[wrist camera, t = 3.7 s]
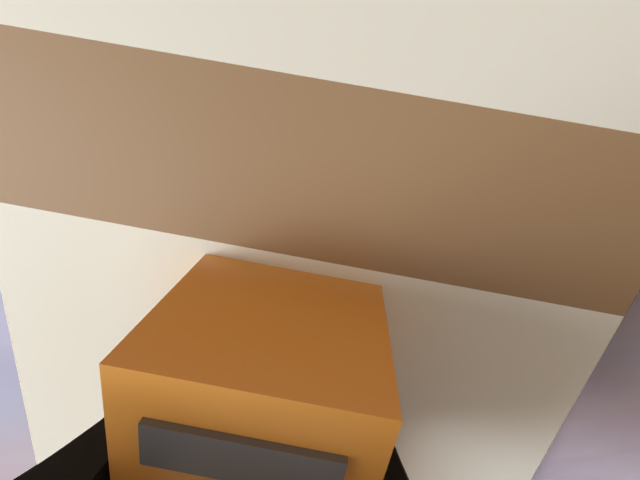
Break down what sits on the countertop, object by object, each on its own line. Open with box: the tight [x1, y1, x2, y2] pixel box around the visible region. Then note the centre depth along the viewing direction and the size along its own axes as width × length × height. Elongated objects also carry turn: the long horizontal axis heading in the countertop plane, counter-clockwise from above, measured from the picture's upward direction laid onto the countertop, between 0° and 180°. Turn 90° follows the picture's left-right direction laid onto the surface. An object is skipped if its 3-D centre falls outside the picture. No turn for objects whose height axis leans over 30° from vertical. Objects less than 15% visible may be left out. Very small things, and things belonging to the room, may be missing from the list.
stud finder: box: [99, 254, 403, 480], centre depth 9 cm, size 5×9×5 cm, turn 171°
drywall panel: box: [0, 0, 640, 480], centre depth 11 cm, size 18×23×1 cm
